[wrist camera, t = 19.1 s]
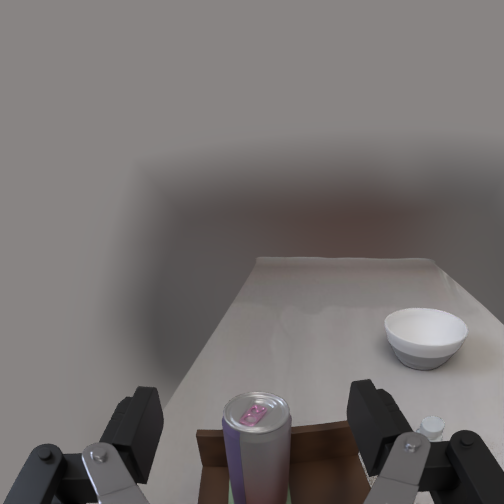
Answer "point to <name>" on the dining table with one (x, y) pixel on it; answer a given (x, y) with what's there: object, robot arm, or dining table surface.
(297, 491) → the wooden stand
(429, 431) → the pill bottle
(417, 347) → the bowl
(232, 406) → the beverage can
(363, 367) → the dining table surface
